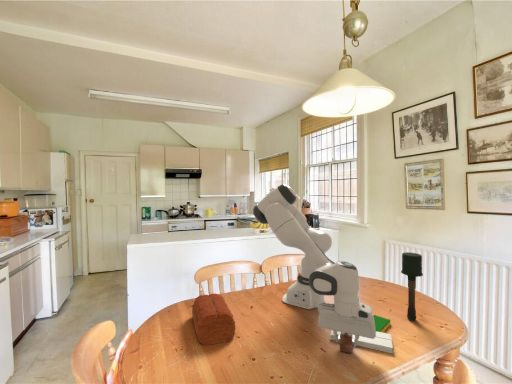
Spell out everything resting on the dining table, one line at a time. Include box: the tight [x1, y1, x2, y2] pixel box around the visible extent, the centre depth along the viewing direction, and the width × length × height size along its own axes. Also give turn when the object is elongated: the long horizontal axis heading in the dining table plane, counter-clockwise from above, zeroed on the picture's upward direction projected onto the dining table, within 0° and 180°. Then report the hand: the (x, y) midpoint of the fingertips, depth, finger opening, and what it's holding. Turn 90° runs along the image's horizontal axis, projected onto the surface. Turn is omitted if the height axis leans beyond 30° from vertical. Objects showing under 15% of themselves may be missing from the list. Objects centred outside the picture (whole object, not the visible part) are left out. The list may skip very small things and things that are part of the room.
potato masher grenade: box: [400, 251, 424, 322], centre depth 120 cm, size 8×9×30 cm
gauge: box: [339, 332, 353, 354], centre depth 101 cm, size 4×13×6 cm, turn 156°
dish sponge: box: [372, 314, 391, 333], centre depth 113 cm, size 7×14×2 cm, turn 135°
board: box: [329, 330, 394, 354], centre depth 104 cm, size 22×10×2 cm, turn 66°
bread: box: [191, 293, 236, 346], centre depth 113 cm, size 16×27×11 cm, turn 19°
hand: (346, 343), depth 97 cm, fingers closed on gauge, 4 cm apart
